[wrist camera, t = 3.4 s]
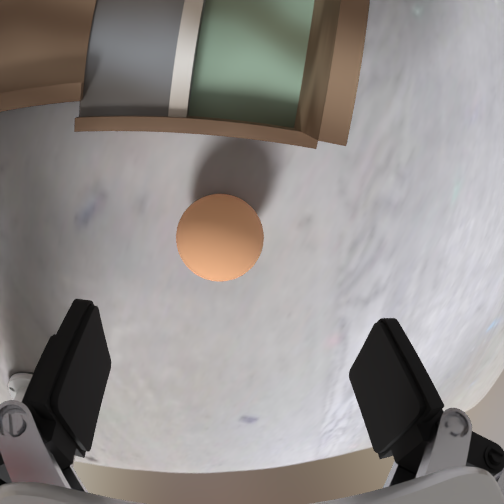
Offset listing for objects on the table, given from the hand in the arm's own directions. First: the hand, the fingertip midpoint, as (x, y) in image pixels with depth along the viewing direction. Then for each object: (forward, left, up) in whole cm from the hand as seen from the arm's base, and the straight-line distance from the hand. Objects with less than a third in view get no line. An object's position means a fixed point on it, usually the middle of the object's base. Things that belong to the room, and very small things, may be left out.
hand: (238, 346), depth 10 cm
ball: (-1, 0, -11) cm, 11 cm away
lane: (+12, +9, -11) cm, 19 cm away
